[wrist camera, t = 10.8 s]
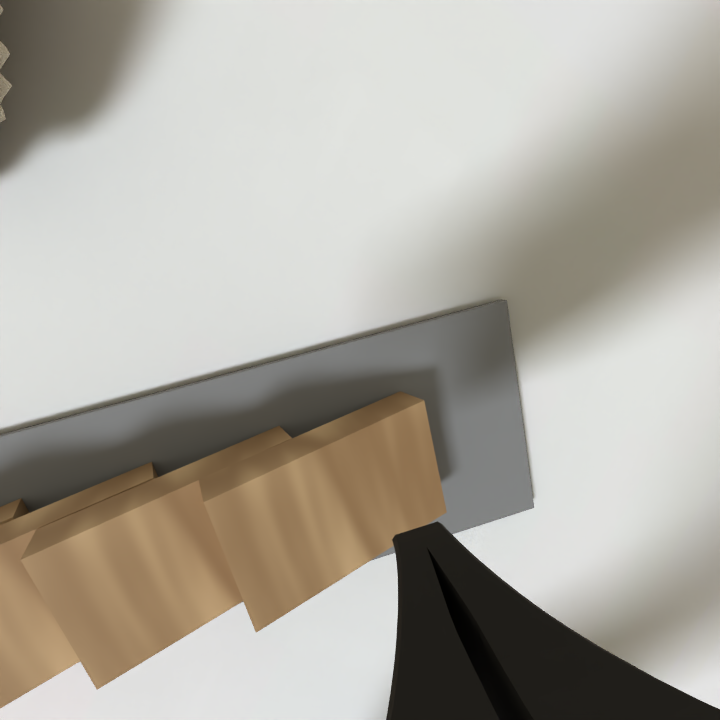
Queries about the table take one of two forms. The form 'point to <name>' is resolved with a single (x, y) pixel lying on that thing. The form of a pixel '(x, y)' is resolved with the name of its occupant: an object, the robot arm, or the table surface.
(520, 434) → the slate mat
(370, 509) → the domino
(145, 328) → the table surface
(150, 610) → the domino
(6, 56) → the fossil replica
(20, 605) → the domino
